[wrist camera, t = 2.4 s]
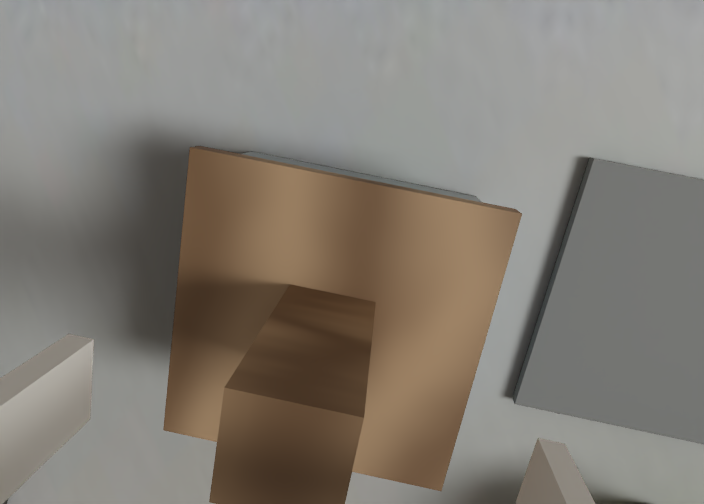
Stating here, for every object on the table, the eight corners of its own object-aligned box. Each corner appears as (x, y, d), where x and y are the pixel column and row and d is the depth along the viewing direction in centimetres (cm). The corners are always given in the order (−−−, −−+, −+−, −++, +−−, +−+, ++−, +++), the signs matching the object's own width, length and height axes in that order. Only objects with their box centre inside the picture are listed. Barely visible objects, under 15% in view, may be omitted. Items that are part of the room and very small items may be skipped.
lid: (172, 417, 23) (42, 593, 15) (199, 145, 20) (47, 166, 11) (439, 475, 23) (466, 692, 14) (515, 209, 19) (613, 281, 11)
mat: (512, 398, 28) (514, 404, 28) (589, 157, 24) (594, 158, 24) (754, 449, 28) (762, 456, 27) (872, 212, 24) (884, 215, 23)
